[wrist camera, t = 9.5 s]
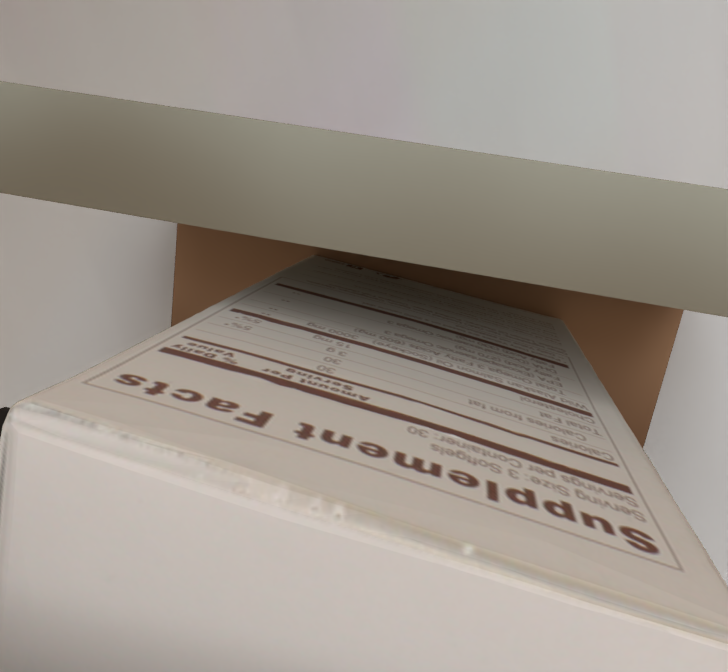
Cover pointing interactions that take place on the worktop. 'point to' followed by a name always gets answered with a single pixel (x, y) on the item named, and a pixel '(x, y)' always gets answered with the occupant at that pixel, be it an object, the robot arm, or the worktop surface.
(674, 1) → the worktop surface
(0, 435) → the robot arm
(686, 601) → the supplement box
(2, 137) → the wall shelf
